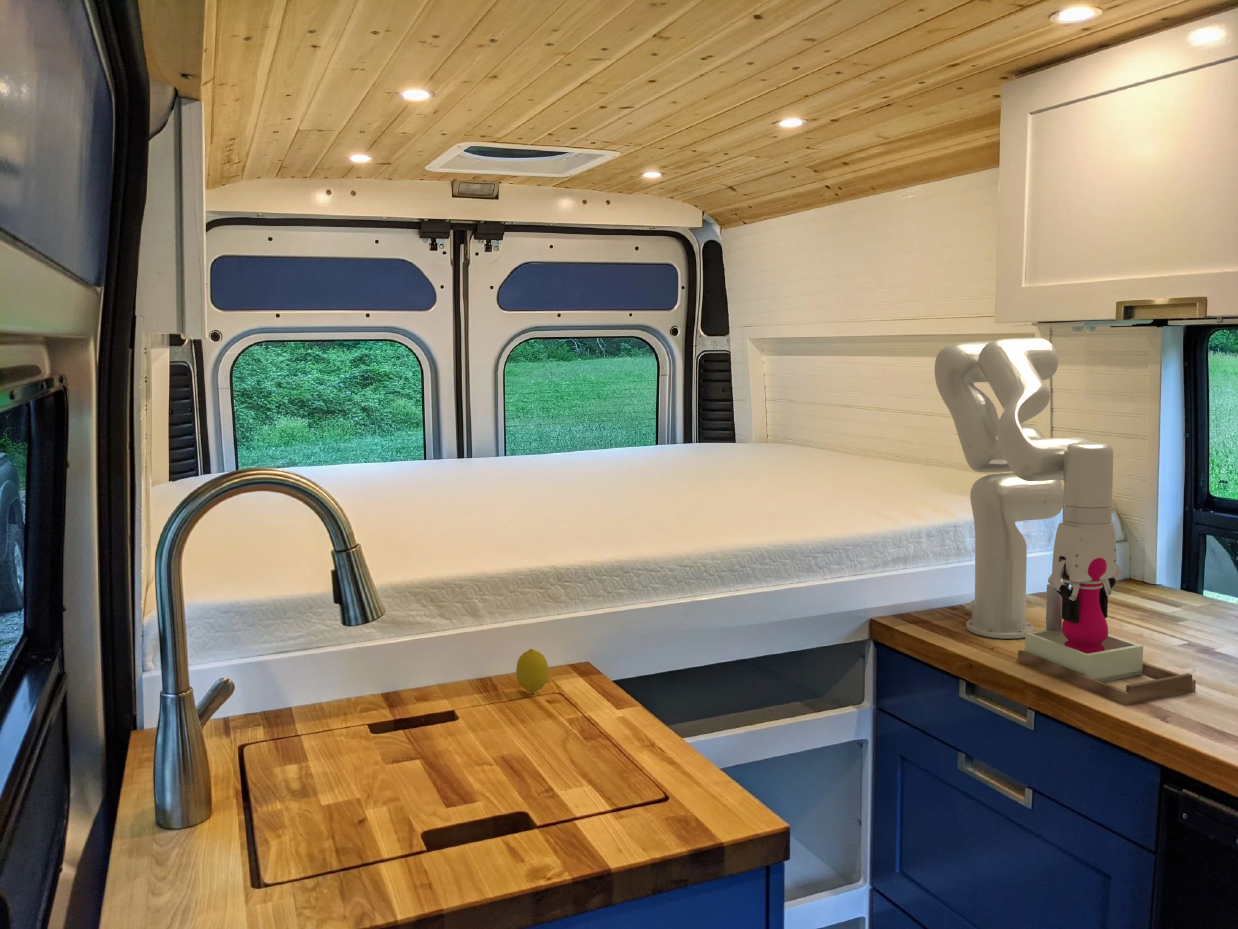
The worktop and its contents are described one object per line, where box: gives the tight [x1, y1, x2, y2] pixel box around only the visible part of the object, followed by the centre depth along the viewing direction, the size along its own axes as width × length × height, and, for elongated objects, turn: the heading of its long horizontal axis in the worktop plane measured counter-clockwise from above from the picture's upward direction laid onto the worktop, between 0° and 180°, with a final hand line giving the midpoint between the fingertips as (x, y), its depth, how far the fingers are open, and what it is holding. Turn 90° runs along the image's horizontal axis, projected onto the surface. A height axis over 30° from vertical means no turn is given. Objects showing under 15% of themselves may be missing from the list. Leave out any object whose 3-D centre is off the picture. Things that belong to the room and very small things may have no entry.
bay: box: [1017, 649, 1197, 706], centre depth 163 cm, size 23×14×4 cm, turn 19°
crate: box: [1024, 583, 1144, 683], centre depth 167 cm, size 15×12×13 cm
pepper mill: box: [1062, 558, 1109, 654], centre depth 166 cm, size 7×7×20 cm
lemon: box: [515, 648, 549, 694], centre depth 167 cm, size 6×6×8 cm
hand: (1084, 617), depth 166 cm, fingers closed on pepper mill, 5 cm apart
